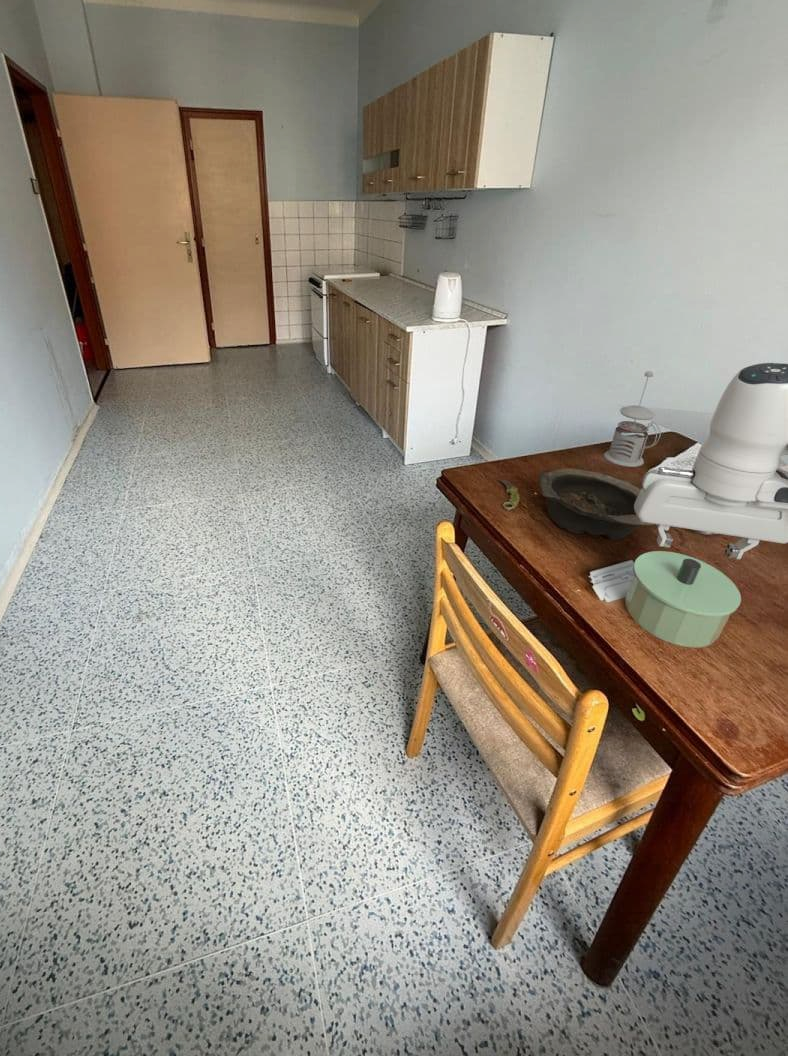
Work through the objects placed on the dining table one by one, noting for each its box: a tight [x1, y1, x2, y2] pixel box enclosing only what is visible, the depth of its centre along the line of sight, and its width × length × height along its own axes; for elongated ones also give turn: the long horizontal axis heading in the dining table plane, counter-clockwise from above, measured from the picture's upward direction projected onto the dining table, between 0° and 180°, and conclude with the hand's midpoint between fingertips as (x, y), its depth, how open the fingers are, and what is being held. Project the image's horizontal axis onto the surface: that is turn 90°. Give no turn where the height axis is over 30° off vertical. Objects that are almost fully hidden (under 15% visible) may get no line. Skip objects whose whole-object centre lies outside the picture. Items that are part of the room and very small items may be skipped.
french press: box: [603, 370, 661, 468], centre depth 125 cm, size 10×12×25 cm
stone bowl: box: [539, 467, 655, 541], centre depth 104 cm, size 25×25×9 cm
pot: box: [624, 574, 731, 649], centre depth 80 cm, size 14×14×8 cm
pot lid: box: [632, 550, 742, 617], centre depth 77 cm, size 15×15×5 cm
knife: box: [493, 477, 521, 511], centre depth 116 cm, size 14×1×5 cm
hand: (696, 550), depth 75 cm, fingers open, 8 cm apart
